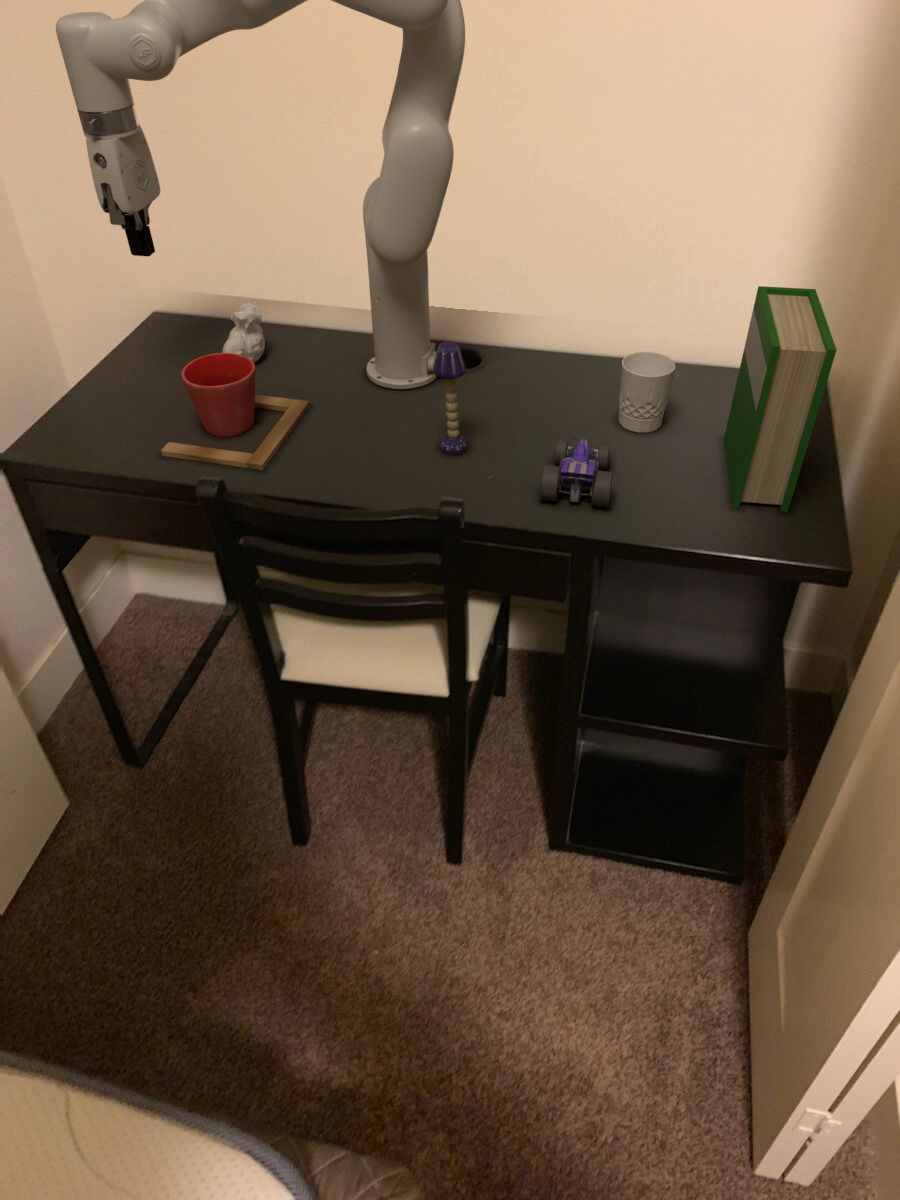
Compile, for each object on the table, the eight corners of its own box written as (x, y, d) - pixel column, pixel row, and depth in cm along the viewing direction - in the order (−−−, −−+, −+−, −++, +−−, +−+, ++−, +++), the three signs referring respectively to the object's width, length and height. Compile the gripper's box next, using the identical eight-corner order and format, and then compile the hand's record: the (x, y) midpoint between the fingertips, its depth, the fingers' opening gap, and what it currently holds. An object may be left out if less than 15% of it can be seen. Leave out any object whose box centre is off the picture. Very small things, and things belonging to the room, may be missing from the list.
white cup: (670, 415, 142) (681, 357, 135) (657, 439, 136) (667, 380, 130) (622, 405, 144) (630, 347, 137) (608, 428, 139) (615, 370, 132)
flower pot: (262, 440, 138) (252, 383, 131) (190, 445, 137) (176, 388, 130) (266, 405, 145) (256, 350, 139) (198, 409, 145) (185, 354, 138)
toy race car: (615, 454, 133) (620, 416, 129) (607, 514, 123) (612, 474, 118) (551, 448, 135) (554, 410, 130) (538, 506, 124) (541, 467, 120)
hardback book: (787, 512, 122) (836, 350, 106) (732, 507, 123) (772, 346, 107) (773, 443, 135) (815, 289, 119) (723, 439, 136) (758, 286, 120)
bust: (236, 387, 154) (266, 343, 147) (199, 359, 152) (227, 313, 145) (263, 355, 163) (292, 312, 156) (228, 328, 161) (256, 283, 154)
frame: (310, 406, 145) (309, 400, 144) (263, 470, 132) (262, 464, 131) (217, 394, 148) (216, 389, 148) (162, 456, 135) (160, 450, 134)
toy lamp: (444, 459, 133) (442, 356, 122) (430, 444, 136) (427, 342, 125) (472, 450, 135) (473, 348, 123) (458, 436, 138) (457, 334, 127)
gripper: (106, 137, 116) (142, 275, 129) (159, 107, 127) (188, 237, 139) (55, 135, 118) (96, 272, 130) (111, 105, 128) (144, 234, 141)
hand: (143, 253), depth 135 cm, fingers closed
